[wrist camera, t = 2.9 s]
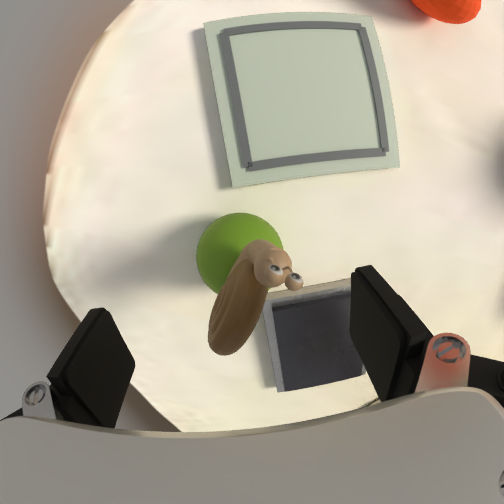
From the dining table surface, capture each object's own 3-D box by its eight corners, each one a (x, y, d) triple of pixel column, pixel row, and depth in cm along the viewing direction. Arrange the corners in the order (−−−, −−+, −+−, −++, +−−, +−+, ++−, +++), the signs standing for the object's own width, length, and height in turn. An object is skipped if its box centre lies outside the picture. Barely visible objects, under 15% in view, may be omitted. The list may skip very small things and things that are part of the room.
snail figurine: (297, 211, 19) (364, 303, 8) (258, 286, 21) (272, 419, 10) (226, 179, 18) (196, 236, 7) (192, 259, 20) (145, 383, 9)
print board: (394, 166, 18) (400, 167, 17) (233, 186, 19) (232, 188, 18) (367, 19, 14) (372, 15, 13) (204, 27, 14) (203, 22, 13)
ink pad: (362, 367, 25) (367, 378, 24) (276, 385, 26) (278, 396, 24) (369, 274, 21) (377, 283, 20) (260, 294, 22) (261, 305, 20)
